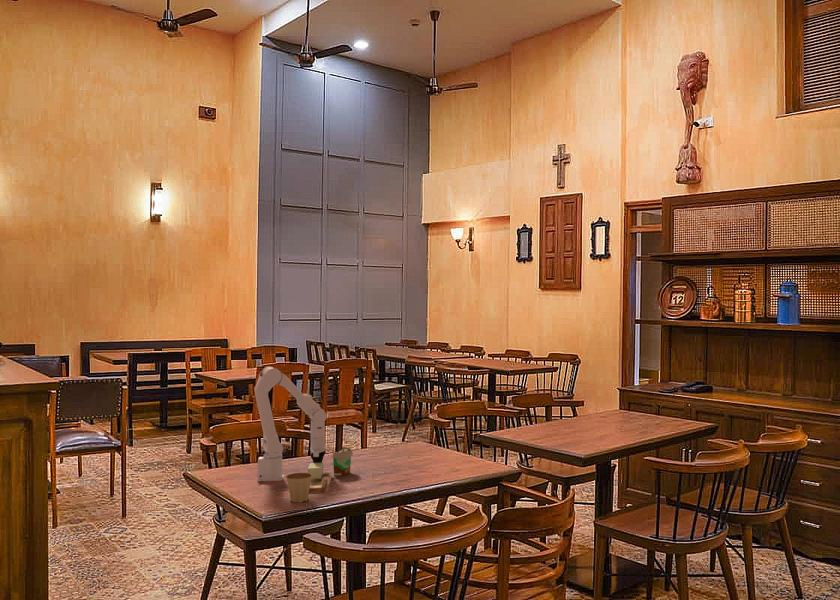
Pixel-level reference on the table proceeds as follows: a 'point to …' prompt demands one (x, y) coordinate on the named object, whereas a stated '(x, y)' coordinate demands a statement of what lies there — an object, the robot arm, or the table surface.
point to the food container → (342, 461)
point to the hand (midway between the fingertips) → (317, 470)
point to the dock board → (319, 485)
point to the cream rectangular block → (316, 470)
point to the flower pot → (299, 486)
